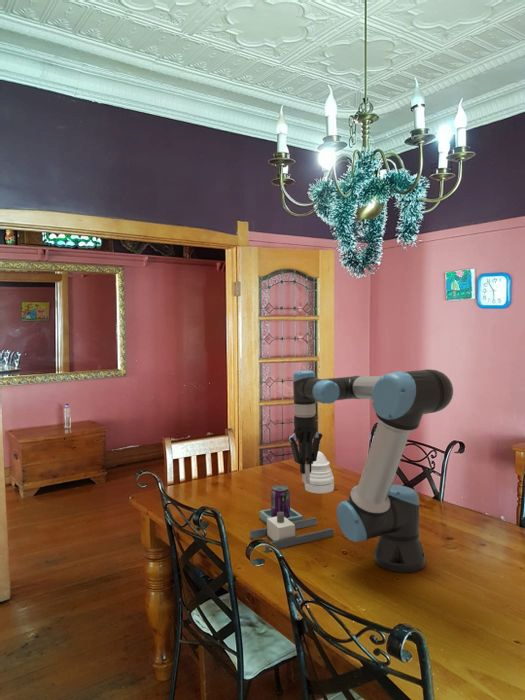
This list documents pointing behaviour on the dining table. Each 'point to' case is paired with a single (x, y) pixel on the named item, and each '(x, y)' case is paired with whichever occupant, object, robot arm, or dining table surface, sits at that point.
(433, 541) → the dining table surface
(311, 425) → the robot arm
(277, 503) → the beverage can
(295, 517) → the tray
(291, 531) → the slider
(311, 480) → the honey pot
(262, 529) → the slide track
